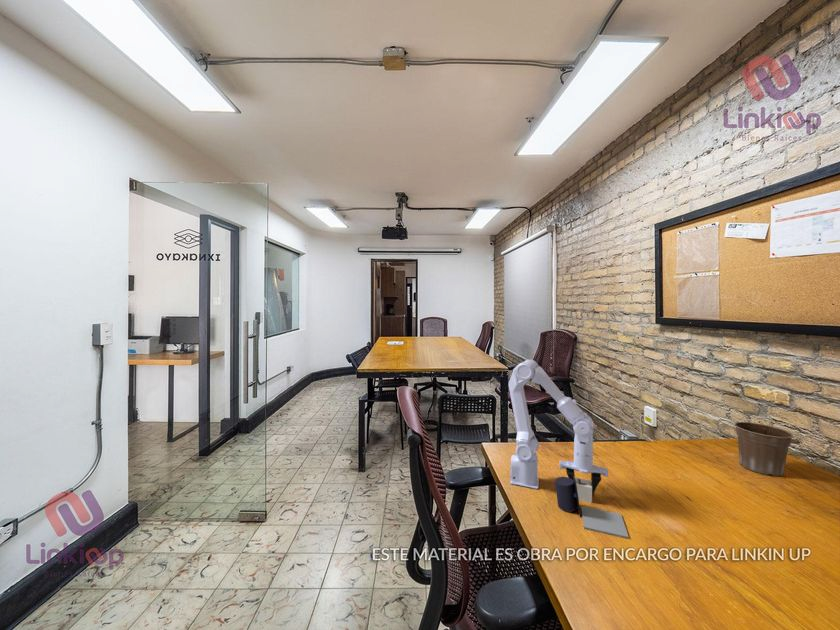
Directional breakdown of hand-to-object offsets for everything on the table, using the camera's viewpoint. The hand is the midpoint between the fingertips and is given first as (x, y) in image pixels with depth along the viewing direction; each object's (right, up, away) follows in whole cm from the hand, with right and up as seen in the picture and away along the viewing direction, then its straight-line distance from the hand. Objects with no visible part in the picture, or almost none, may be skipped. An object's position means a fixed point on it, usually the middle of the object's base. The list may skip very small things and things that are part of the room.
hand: (582, 492), depth 110 cm
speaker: (-8, -2, -6) cm, 10 cm away
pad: (0, -2, -13) cm, 13 cm away
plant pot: (+81, -2, +20) cm, 84 cm away
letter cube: (0, -1, 0) cm, 1 cm away
